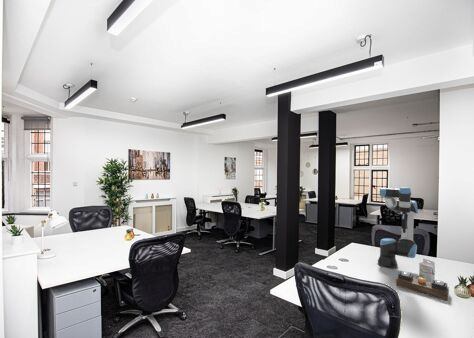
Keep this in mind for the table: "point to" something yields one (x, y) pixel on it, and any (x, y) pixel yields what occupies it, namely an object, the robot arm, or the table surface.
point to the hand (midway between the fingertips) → (404, 236)
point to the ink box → (427, 270)
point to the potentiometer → (421, 280)
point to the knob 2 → (439, 282)
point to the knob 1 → (405, 274)
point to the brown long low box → (423, 286)
